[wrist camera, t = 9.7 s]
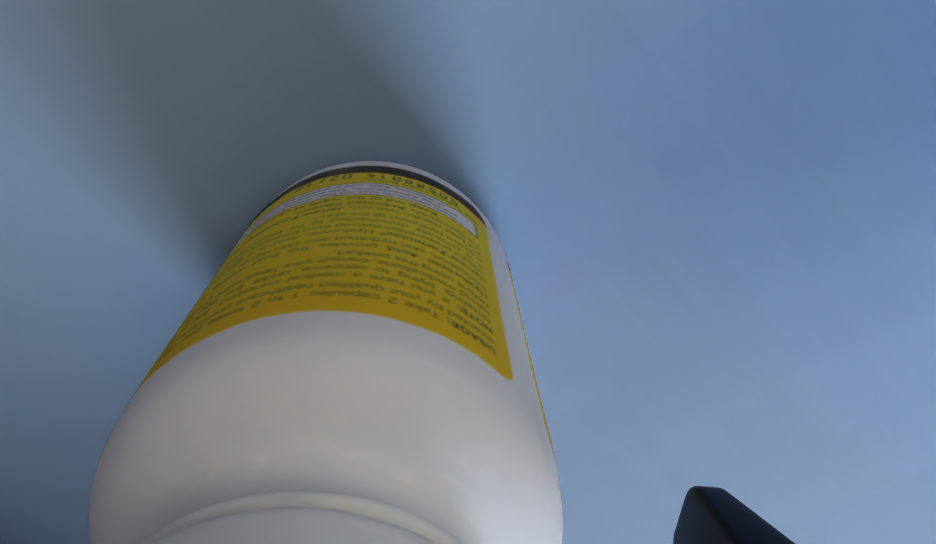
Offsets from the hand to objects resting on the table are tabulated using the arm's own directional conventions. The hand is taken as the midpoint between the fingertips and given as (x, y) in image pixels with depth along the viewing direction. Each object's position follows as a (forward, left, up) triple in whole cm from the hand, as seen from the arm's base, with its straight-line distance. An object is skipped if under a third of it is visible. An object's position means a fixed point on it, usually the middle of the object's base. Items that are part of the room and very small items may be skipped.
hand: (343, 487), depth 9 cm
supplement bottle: (0, 0, -6) cm, 6 cm away
